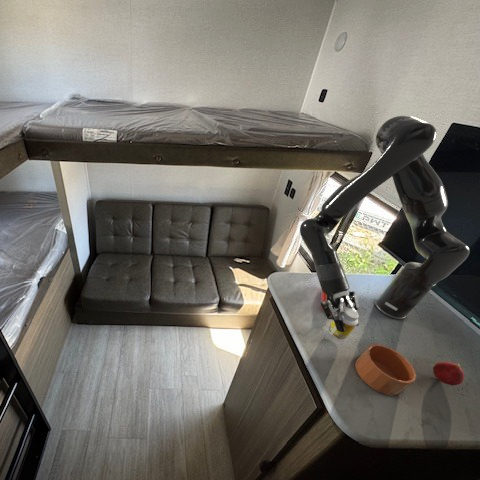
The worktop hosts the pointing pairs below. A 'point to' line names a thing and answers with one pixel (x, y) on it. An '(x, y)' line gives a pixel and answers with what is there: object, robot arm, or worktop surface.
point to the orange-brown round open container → (385, 369)
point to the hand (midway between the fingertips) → (348, 328)
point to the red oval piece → (448, 373)
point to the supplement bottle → (345, 324)
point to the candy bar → (324, 298)
